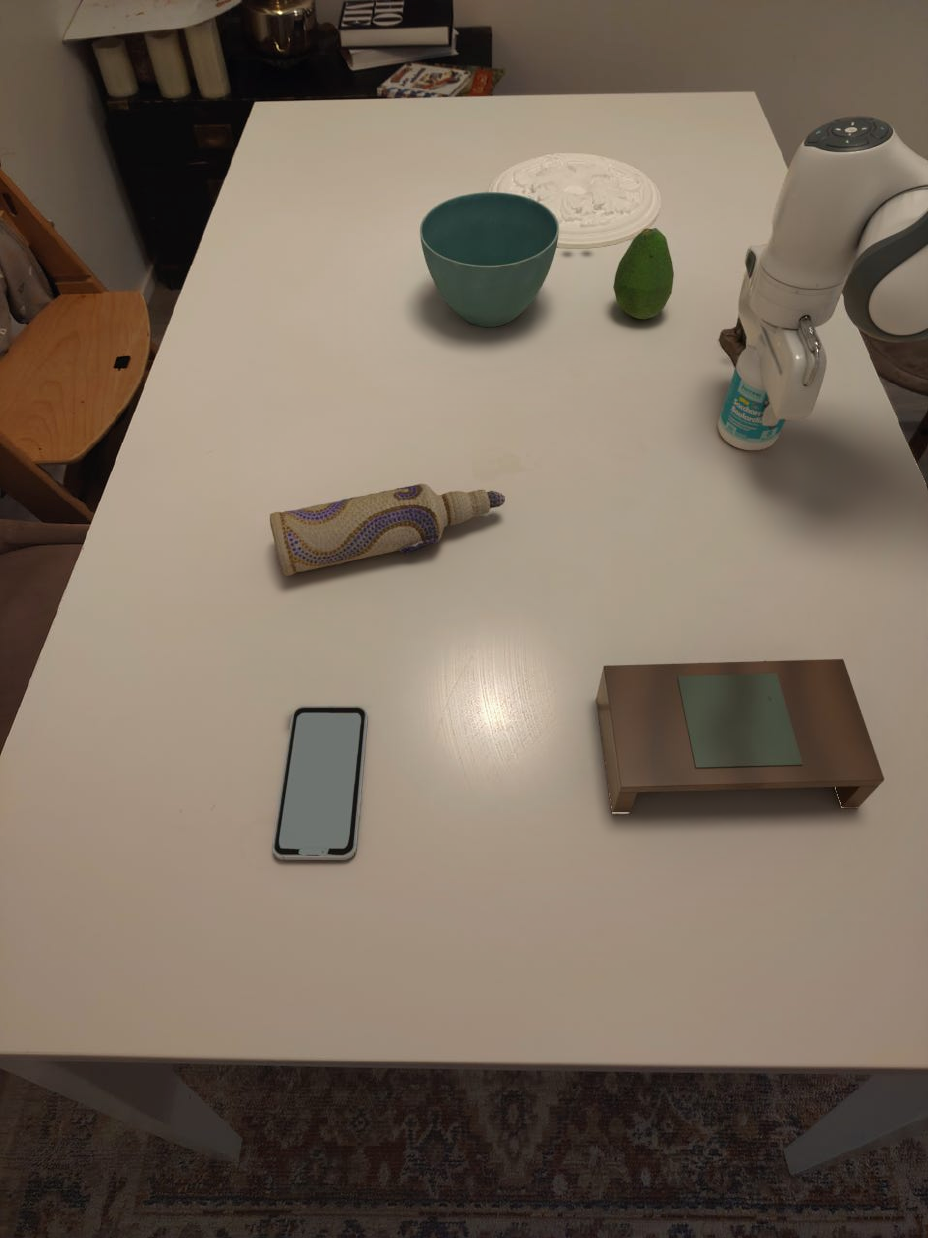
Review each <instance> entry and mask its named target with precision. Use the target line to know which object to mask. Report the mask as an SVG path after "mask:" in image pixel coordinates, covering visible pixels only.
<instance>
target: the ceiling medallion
mask: <svg viewBox="0 0 928 1238" xmlns="http://www.w3.org/2000/svg"><path fill="white" fill-rule="evenodd" d="M487 192H500V193H510V194H516V195H520V196H524V197H527V198H530V199H533V200H535V201H537V202H539V203H541V204H543V205H544V206H546V207H547V208H548V209H549V210H550V211H551V212H552V213H553V214H554V215H555V217H556V219H557V221H558V224H559V235H558V241H557V247H556V248H561V249H571V250H572V249H574V250H575V249H576V250H577V249H579V250H580V249H582V250H583V249H594V248H603V247H609V246H613V245H617V244H620V243H623V242H626V241H629V240H631V239H635V237H636V236H637V235H638V234H640V233H641V232H642V231H643V230H644V229H650V227H651V226H652V225H653V224H654V223H655V222H656V221H657V219H658V217H659V214H660V211H661V206H662V196H661V192H660V190H659V188H658V187H657V185H656V183H655V182H654V181H653V180H652V179H651V178H650V177H649V176H647V174H645V173H644V172H642V171H641V170H639V169H638V168H635V167H634V166H632V165H630V164H628V163H625V162H623V161H621V160H617V159H614V158H610V157H607V156H603V155H599V154H593V153H592V154H591V153H583V152H582V153H581V152H561V153H560V152H555V153H553V154H549V153H548V154H545V155H540V156H537V157H533V158H529V159H526V160H524V161H521V162H518V163H516V164H514V165H513V166H511V167H509V168H507V169H506V170H504V171H503V172H501V173H500V174H499V175H497V177H496V178H495V179H494V180H493V181H492V183H491V184H490V186H489V189H488V191H487Z"/></svg>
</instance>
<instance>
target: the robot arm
mask: <svg viewBox="0 0 928 1238" xmlns="http://www.w3.org/2000/svg"><path fill="white" fill-rule="evenodd" d="M771 221H772V222H771V223H772V224H771V225H772V226H771V227H772V228H771V229H772V230H771V234H770V237H769V240H768V241H767V243H766V244H755V245H749V246H748V248H747V250H746V253H745V256H744V257H745V258H744V265H745V271H744V274H743V277H742V281H741V286H740V291H739V295H738V300H737V301H738V303H737V304H738V305H737V315H738V314H739V318H740V320H741V323H742V326H743V328H744V331H745V334H746V337H747V339H746V348H747V347H749V346H750V345H751V346H753V348H754V349H755V350H756V342H757V339H758V336H759V334H761V337H762V340H763V342H764V345H765V350H764V353H763V356H760V357H759V362H760V368H761V376H762V382H763V384H764V387H765V390H766V393H767V396H768V398H769V399H768V401H769V405H768V406H762V409H761V413H760V419H761V422H762V425H764V426H774V425H776V424H777V423H778V421H779V419H786V420H802V419H805V418H807V417H809V416H811V414H812V413H813V411H814V408H815V406H816V403H817V400H818V397H819V395H820V391H821V388H822V385H823V381H824V379H825V375H826V369H827V353H826V350H825V348H824V345H823V344H822V342H821V339H820V337H819V334H818V331H817V329H816V328H818V327H821V326H822V325H824V324H826V323H828V322H829V321H830V320H831V319H832V317H833V315H834V313H835V311H836V309H837V306H838V303H839V300H840V299H841V295H842V294H843V306H844V310H845V312H846V315H847V317H848V319H849V320H850V322H851V323H852V324H853V325H854V326H855V327H856V328H857V329H858V330H859V331H861V332H863V334H865V335H867V336H869V337H872V338H874V339H876V340H879V341H884V342H889V343H912V342H917V341H922V340H923V341H924V340H925V339H928V160H927V159H925V158H924V157H922V156H921V155H919V154H917V153H916V152H915V151H914V150H912V148H909V146H907V145H906V143H904V142H903V141H902V140H901V138H900V137H899V136H898V134H897V131H896V130H895V129H894V127H893V126H892V125H891V124H889V123H888V122H886V121H885V120H882V119H878V118H874V117H872V116H863V115H862V116H861V115H856V116H855V115H854V116H845V117H840V118H836V119H834V120H831V121H828V122H826V123H823V124H821V125H820V126H818V127H816V128H814V129H813V130H812V131H811V132H810V133H808V135H807V136H806V137H805V138H804V139H803V141H802V142H801V144H800V145H799V146H798V148H797V150H796V151H795V154H794V156H793V158H792V160H791V162H790V164H789V167H788V170H787V172H786V175H785V177H784V180H783V183H782V185H781V188H780V191H779V194H778V197H777V201H776V204H775V207H774V210H773V215H772V220H771Z"/></svg>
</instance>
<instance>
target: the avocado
mask: <svg viewBox="0 0 928 1238" xmlns="http://www.w3.org/2000/svg"><path fill="white" fill-rule="evenodd" d="M673 265H674V264H673V260H672V256H671V252H670V248H669V245H668V240H667V237H666V236H665V235H664V234H663V233H662V232H661V231H660V230H659V229H658V228H657V227H654V228H648V229H644V230H643V231H642V232H641V233H640V234H638V235H637V236H636V237H634V238H633V240H632V241H631V243H630V245H629V246H628V248H627V249H626V251H625V252H624V254H623V255H622V257H621V259H620V261H619V262H618V264H617V268H616V270H615V271H616V272H615V275H614V281H613V287H612V288H613V291H614V296H615V299H616V304H617V305H618V306H619V308H620V309H621V310H622V311H624V312H625V313H626V314H627V315H629V316H630V317H632V318H635V319H639V320H648V319H650V318H653V317H656V316H657V315H658V314H659V313H660V312H661V311H662V310H663V309H664V308H665V307H666V304H668V302H669V299H670V298H671V295H672V293H673V285H674V277H675V273H674V266H673Z"/></svg>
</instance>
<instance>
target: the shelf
mask: <svg viewBox="0 0 928 1238" xmlns="http://www.w3.org/2000/svg"><path fill="white" fill-rule="evenodd" d="M853 686H854V685H853V684H852V680H851V678H850V675H849V671H848V669H847V666H846V663H845V661H844V659H843V658H830V659H795V660H794V659H791V660H760V661H759V660H758V661H757V660H756V661H721V662H687V663H686V662H685V663H653V664H652V663H651V664H618V665H617V664H616V665H615V664H614V665H603V667H602V672H601V675H600V680H599V685H598V689H597V694H596V698H595V699H596V704H597V705H596V707H597V714H599V715H598V722H599V721H600V723H599V729H600V728H601V730H600V736H601V735H602V738H601V744H602V743H603V745H602V750H603V749H604V753H603V757H604V756H605V761H604V763H605V762H606V768H605V771H606V770H607V776H606V779H607V778H608V783H607V786H608V785H609V791H608V794H609V793H610V798H609V800H610V799H611V806H612V812H630V813H631V811H632V808H633V806H634V803H635V800H636V797H637V795H638V793H661V792H694V791H695V792H696V791H700V792H701V791H728V790H729V791H731V790H766V789H771V790H772V789H801V788H802V789H804V788H807V789H808V788H834V787H836V791H837V794H838V797H839V800H840V802H841V806H842V807H859V808H860V807H861V806H862V805H863V803H864V802H866V801H867V799H868V798H869V797H870V796H871V795H872V794H873V793H874V792H875V791H876V790H877V789H878V788H879V787H880V785H882V783H883V782H884V781H885V777H884V775H883V771H882V768H881V765H880V762H879V760H878V757H877V754H876V751H875V748H874V745H873V742H872V739H871V735H870V733H869V730H868V728H867V725H866V722H865V718H864V715H863V713H862V710H861V707H860V704H859V701H858V698H857V696H856V695H857V694H856V692H855V689H854V687H853ZM834 791H835V790H834ZM836 791H835V793H836ZM611 806H610V807H611Z"/></svg>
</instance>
